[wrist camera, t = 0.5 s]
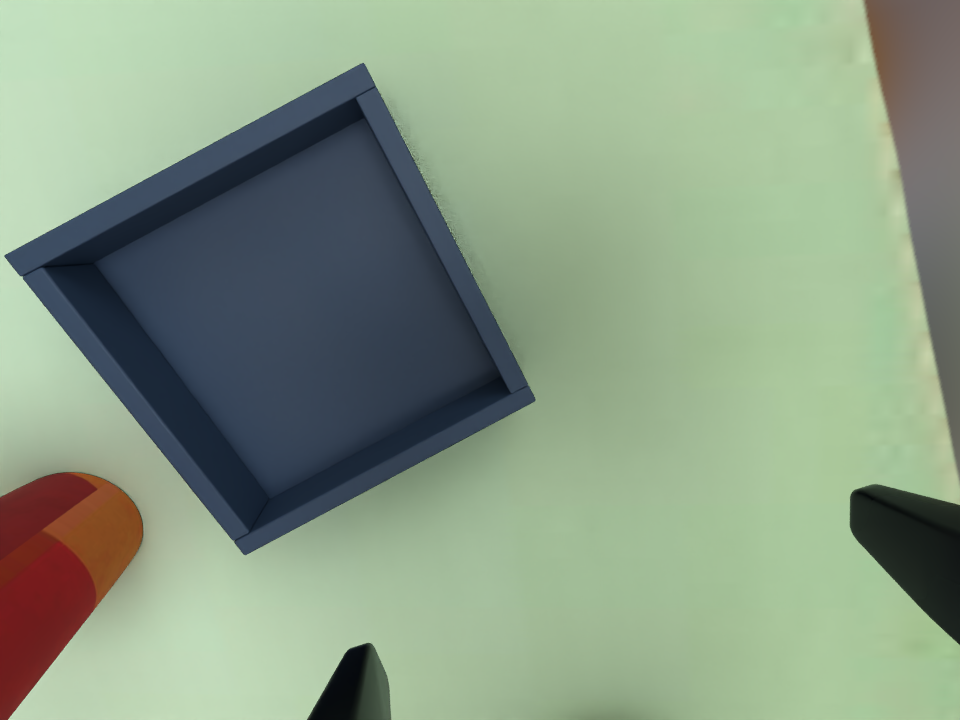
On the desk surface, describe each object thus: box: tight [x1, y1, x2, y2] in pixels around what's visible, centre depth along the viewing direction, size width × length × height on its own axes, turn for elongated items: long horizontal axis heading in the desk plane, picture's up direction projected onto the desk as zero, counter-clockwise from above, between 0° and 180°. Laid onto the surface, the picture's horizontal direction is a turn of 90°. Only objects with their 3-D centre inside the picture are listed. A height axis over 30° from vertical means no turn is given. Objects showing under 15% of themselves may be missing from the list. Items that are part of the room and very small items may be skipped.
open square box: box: [5, 63, 535, 555], centre depth 19 cm, size 14×14×4 cm
